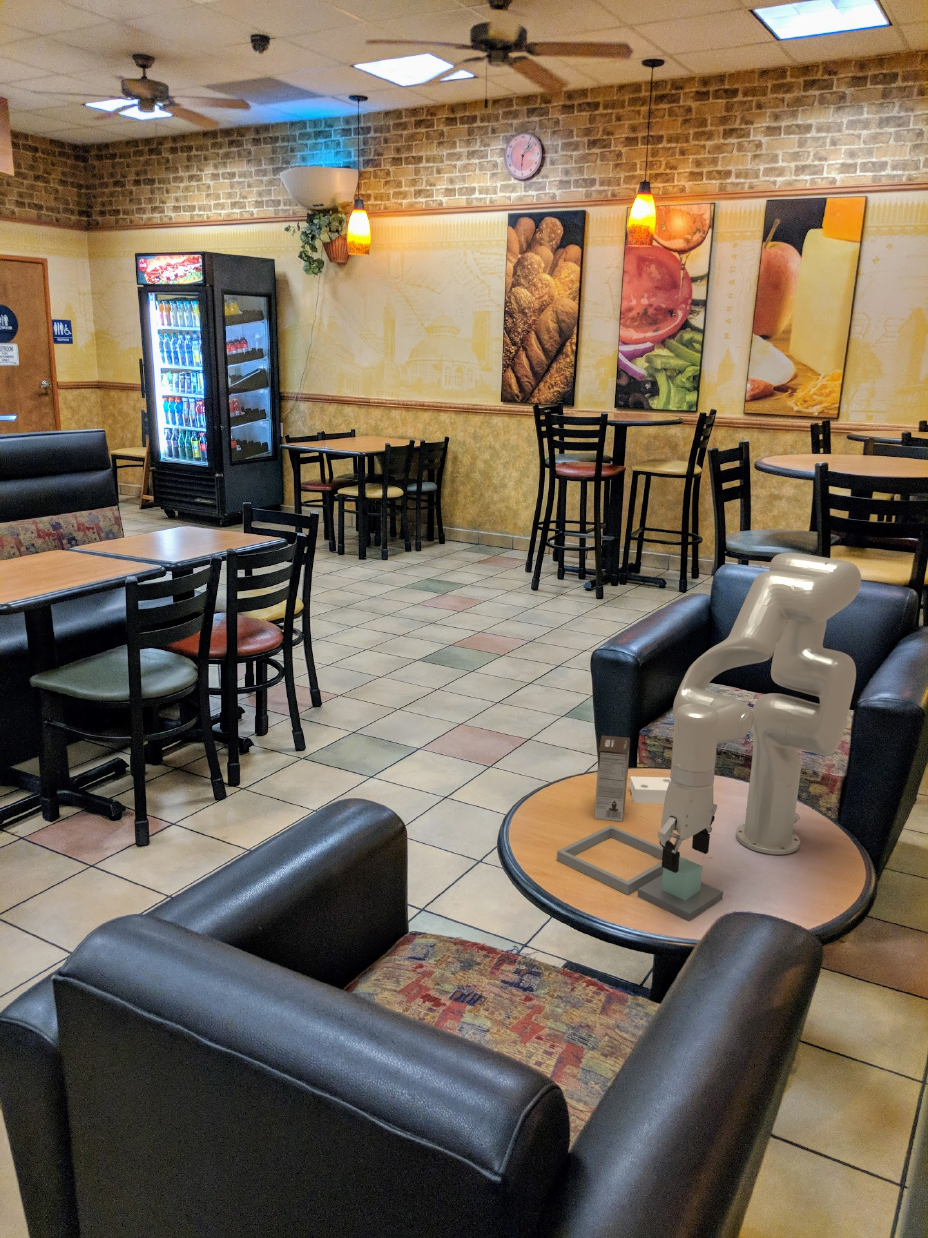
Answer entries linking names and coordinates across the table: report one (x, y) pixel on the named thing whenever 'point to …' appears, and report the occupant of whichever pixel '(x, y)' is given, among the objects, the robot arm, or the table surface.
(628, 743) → the coffee box
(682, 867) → the teal cube
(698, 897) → the slate board
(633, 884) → the low bin
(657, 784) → the bracket
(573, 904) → the table surface
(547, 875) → the table surface
